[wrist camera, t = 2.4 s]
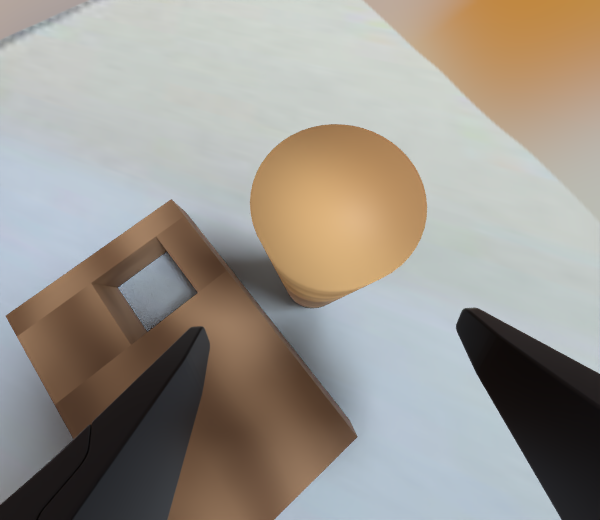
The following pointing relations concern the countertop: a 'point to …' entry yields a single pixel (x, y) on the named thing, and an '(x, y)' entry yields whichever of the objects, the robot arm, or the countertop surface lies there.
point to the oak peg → (336, 211)
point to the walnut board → (218, 380)
